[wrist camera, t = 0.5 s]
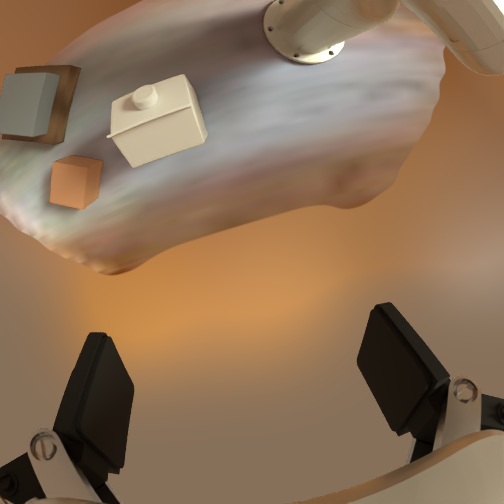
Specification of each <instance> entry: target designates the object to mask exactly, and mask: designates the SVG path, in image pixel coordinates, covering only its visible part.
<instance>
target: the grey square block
mask: <svg viewBox="0 0 504 504" xmlns="http://www.w3.org/2000/svg"><path fill="white" fill-rule="evenodd" d="M60 76H61V75H57V74H52V73H20V74H6V75H5V79H4V83H3V86H2V91H1V95H0V134H12V135H21V136H30V137H34V136H38V135H43V134H47V131H48V125H49V120H50V115H51V111H52V106H53V102H54V98H55V94H56V90H57V86H58V83H59V79H60Z"/></svg>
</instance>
